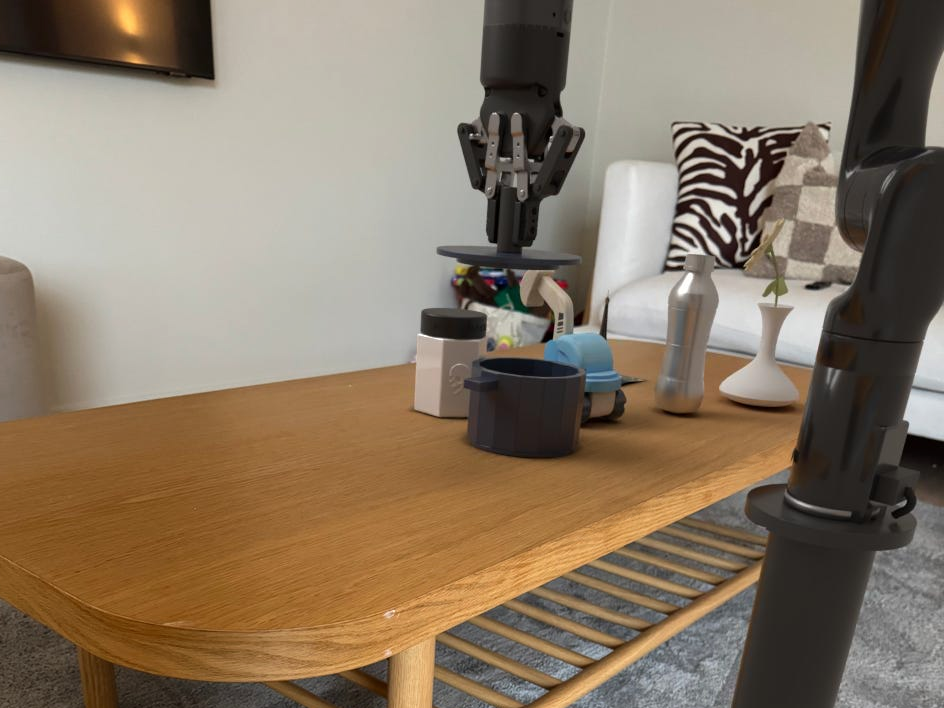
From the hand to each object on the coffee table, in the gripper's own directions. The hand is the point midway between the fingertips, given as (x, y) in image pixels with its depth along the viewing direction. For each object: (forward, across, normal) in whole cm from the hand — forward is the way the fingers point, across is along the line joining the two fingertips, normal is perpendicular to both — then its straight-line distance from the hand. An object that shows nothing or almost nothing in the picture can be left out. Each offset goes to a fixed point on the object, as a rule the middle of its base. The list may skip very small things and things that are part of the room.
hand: (510, 244), depth 89 cm
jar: (+22, -22, +16) cm, 35 cm away
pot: (+22, -6, +11) cm, 25 cm away
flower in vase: (+22, -2, +59) cm, 63 cm away
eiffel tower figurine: (+22, -25, +52) cm, 62 cm away
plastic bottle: (+22, -6, +43) cm, 49 cm away
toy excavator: (+22, -14, +28) cm, 38 cm away
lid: (+1, 0, 0) cm, 1 cm away
